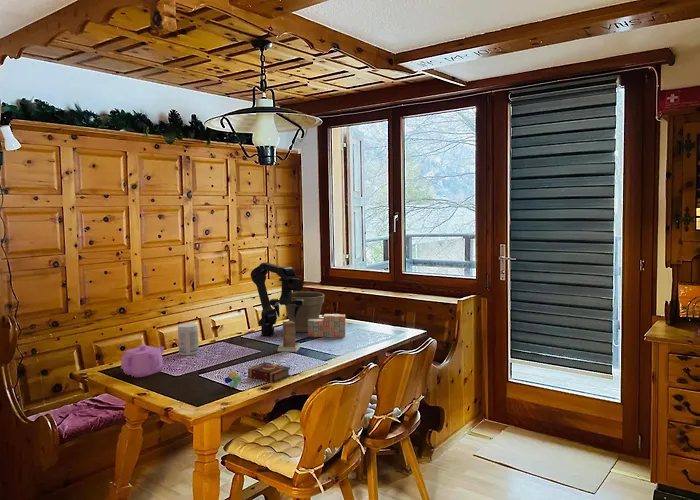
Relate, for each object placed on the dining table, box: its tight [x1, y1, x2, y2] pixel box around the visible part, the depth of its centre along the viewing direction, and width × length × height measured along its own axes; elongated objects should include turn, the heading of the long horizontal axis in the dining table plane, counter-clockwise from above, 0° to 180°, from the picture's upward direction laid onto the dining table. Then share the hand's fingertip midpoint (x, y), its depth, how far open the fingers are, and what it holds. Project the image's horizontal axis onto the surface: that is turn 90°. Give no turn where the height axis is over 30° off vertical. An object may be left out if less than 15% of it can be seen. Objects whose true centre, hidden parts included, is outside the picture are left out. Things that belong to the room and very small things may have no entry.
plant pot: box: [284, 291, 325, 333], centre depth 326 cm, size 25×25×22 cm
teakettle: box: [120, 344, 165, 378], centre depth 244 cm, size 17×17×12 cm
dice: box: [224, 371, 242, 388], centre depth 225 cm, size 8×3×6 cm, turn 56°
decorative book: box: [247, 361, 291, 384], centre depth 237 cm, size 11×16×5 cm
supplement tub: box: [177, 322, 199, 356], centre depth 274 cm, size 10×10×15 cm
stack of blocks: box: [307, 313, 346, 338], centre depth 311 cm, size 21×6×12 cm, turn 87°
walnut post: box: [282, 320, 296, 347], centre depth 282 cm, size 5×5×13 cm
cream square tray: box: [277, 342, 301, 353], centre depth 283 cm, size 10×10×2 cm
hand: (287, 317), depth 299 cm, fingers open, 9 cm apart
